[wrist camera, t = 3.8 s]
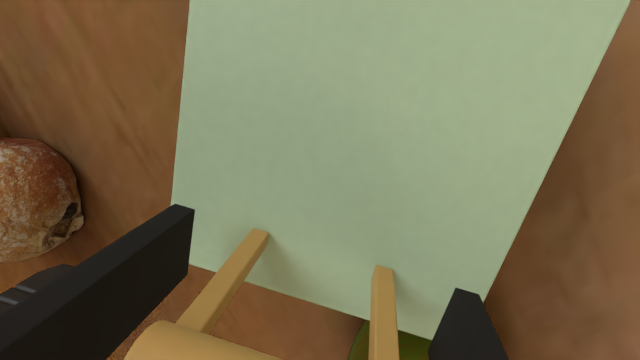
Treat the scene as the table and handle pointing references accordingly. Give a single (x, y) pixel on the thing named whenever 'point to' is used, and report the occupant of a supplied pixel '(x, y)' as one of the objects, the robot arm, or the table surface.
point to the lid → (367, 151)
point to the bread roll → (35, 199)
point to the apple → (409, 345)
